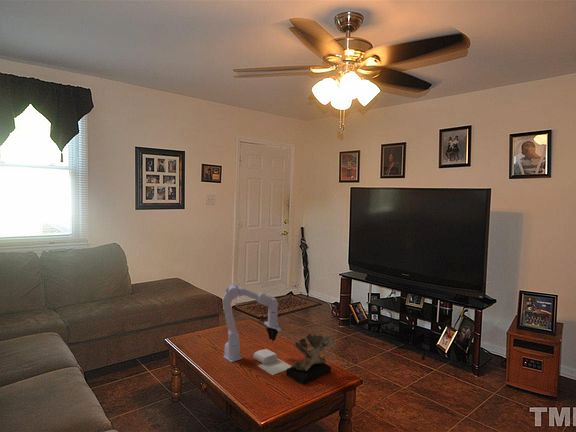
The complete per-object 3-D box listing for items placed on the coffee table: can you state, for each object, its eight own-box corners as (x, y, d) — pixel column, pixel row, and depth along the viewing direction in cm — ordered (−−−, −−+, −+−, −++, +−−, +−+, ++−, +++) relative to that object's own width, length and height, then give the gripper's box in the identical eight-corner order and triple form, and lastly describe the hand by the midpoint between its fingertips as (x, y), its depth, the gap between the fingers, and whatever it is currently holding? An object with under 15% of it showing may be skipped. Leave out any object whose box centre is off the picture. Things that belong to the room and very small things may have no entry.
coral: (318, 362, 223) (319, 327, 222) (343, 375, 208) (344, 338, 206) (285, 374, 207) (286, 336, 206) (310, 390, 192) (311, 349, 190)
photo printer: (277, 360, 224) (265, 353, 233) (277, 353, 223) (265, 347, 233) (264, 365, 217) (251, 358, 226) (263, 358, 217) (251, 351, 226)
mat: (257, 366, 217) (257, 365, 217) (277, 358, 226) (277, 358, 226) (272, 375, 206) (272, 375, 206) (293, 367, 216) (293, 367, 216)
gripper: (285, 319, 225) (284, 341, 226) (270, 313, 236) (270, 334, 237) (276, 322, 221) (275, 344, 222) (261, 315, 232) (261, 337, 233)
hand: (272, 339), depth 229 cm, fingers closed
